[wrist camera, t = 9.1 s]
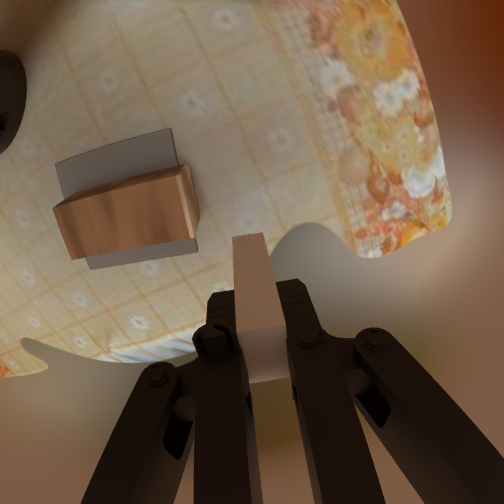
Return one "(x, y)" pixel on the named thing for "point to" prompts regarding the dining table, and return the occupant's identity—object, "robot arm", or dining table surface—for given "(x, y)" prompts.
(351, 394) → the robot arm
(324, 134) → the dining table surface
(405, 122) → the dining table surface
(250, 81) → the dining table surface
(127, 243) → the walnut block
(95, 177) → the mat
